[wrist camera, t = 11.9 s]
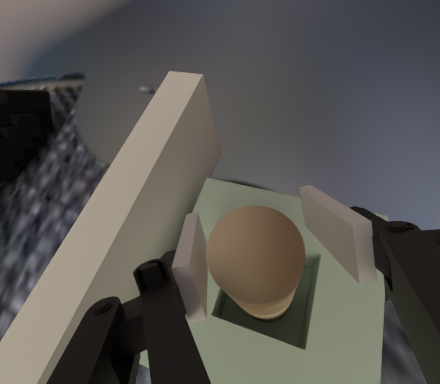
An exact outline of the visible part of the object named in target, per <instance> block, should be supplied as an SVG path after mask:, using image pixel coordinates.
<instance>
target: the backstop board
mask: <svg viewBox="0 0 440 384" xmlns="http://www.w3.org/2000/svg"><path fill="white" fill-rule="evenodd" d="M220 153H221V151H220V147H219V142H218V138H217V134H216V129H215V125H214V121H213V117H212V112H211V108H210V104H209V99H208V95H207V90H206V86H205V81H204V77H203V74H194V73H184V72H174V71H169V73H168V74H167V76H166V78H165V79H164V81H163V82H162V84H161V86H160V87H159V89H158V90H157V92H156V94H155V95H154V97H153V98H152V100H151V102H150V103H149V105H148V106H147V108H146V110H145V111H144V113H143V114H142V116H141V118H140V119H139V121H138V122H137V124H136V126H135V127H134V129H133V130H132V132H131V134H130V135H129V137H128V138H127V140H126V142H125V143H124V145H123V146H122V148H121V150H120V151H119V153H118V154H117V156H116V158H115V159H114V161H113V162H112V164H111V166H110V167H109V169H108V170H107V172H106V174H105V175H104V177H103V178H102V180H101V182H100V183H99V185H98V186H97V188H96V190H95V191H94V193H93V194H92V196H91V198H90V199H89V201H88V202H87V204H86V206H85V207H84V209H83V210H82V212H81V214H80V215H79V217H78V218H77V220H76V222H75V223H74V225H73V226H72V228H71V230H70V231H69V233H68V234H67V236H66V238H65V239H64V241H63V242H62V244H61V246H60V247H59V249H58V250H57V252H56V254H55V255H54V257H53V258H52V260H51V262H50V263H49V265H48V266H47V268H46V270H45V271H44V273H43V274H42V276H41V278H40V279H39V281H38V282H37V284H36V286H35V287H34V289H33V290H32V292H31V294H30V295H29V297H28V298H27V300H26V302H25V303H24V305H23V306H22V308H21V310H20V311H19V313H18V314H17V316H16V318H15V319H14V321H13V322H12V324H11V326H10V327H9V329H8V330H7V332H6V334H5V335H4V337H3V338H2V340H1V342H0V384H46V383H47V381H48V379H49V378H50V376H51V374H52V372H53V370H54V369H55V367H56V365H57V363H58V361H59V360H60V358H61V356H62V354H63V352H64V351H65V349H66V347H67V345H68V343H69V342H70V340H71V338H72V336H73V334H74V333H75V331H76V329H77V327H78V325H79V324H80V322H81V320H82V318H83V316H84V315H85V313H86V311H87V310H88V309H89V308H90V307H91V306H92V305H93V304H94V303H96V302H97V301H99V300H101V299H104V298H107V297H112V296H115V297H118V298H119V299H120V301H121V303H122V304H123V303H125V302H127V301H130V300H132V299H134V298H136V297H138V296H139V295H140V292H139V289H138V286H137V284H136V281H135V278H134V276H133V272H134V270H135V269H136V268H137V267H138V266H139V265H141V264H142V263H144V262H147V261H149V260H153V259H160V258H161V257H162V256H163V255H164V253H165V252H168V251H172V250H176V249H177V246H178V243H179V239H180V236H181V232H182V229H183V225H184V221H185V218H186V214H190V213H192V212H193V209H194V207H195V205H196V202H197V200H198V197H199V195H200V193H201V190H202V188H203V185H204V183H205V180H206V178H210V177H211V175H212V172H213V170H214V168H215V165H216V163H217V160H218V158H219V155H220Z"/></svg>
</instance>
